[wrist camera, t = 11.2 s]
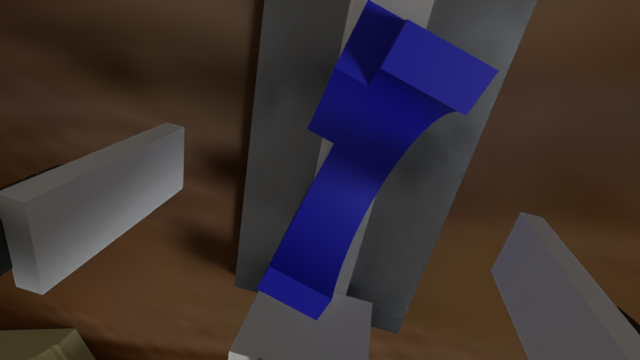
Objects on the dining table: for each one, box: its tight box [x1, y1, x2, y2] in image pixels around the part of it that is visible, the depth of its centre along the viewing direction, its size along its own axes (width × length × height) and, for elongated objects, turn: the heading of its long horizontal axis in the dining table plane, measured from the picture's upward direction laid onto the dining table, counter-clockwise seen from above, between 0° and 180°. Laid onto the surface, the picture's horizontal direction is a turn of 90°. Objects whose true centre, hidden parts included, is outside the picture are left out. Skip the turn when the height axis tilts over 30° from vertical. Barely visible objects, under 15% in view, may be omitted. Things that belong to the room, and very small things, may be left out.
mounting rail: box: [235, 0, 537, 334], centre depth 19 cm, size 26×12×2 cm, turn 169°
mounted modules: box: [228, 291, 372, 360], centre depth 15 cm, size 26×7×6 cm, turn 169°
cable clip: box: [257, 0, 499, 321], centre depth 15 cm, size 12×4×6 cm, turn 154°
